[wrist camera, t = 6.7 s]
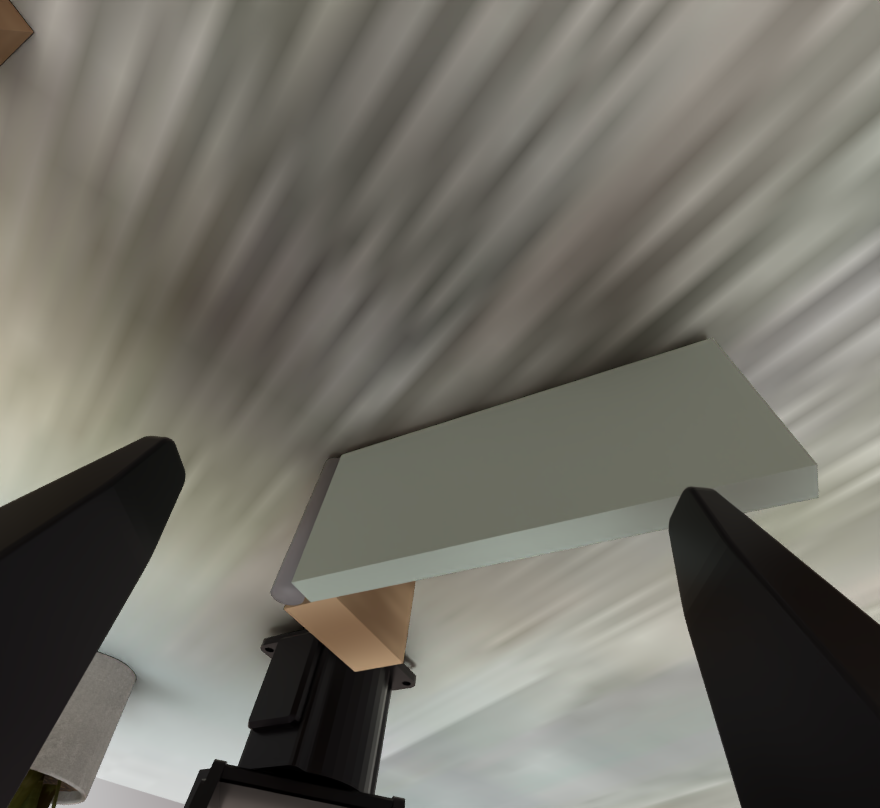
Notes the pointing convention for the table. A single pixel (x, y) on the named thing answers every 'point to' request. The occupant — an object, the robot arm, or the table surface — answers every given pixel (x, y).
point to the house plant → (78, 738)
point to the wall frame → (330, 620)
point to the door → (544, 476)
